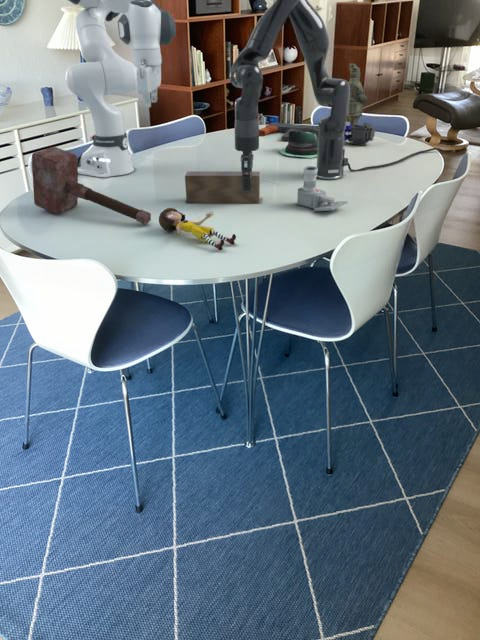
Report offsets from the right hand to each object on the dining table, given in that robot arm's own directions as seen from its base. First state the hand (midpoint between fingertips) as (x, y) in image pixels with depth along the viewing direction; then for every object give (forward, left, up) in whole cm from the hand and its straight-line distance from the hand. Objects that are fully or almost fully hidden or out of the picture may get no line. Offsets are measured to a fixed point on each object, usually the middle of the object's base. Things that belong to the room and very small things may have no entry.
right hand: (247, 187), depth 180 cm
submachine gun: (-79, -58, -4) cm, 98 cm away
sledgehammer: (+44, -22, -4) cm, 49 cm away
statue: (-107, -42, -4) cm, 115 cm away
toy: (-87, -25, -4) cm, 90 cm away
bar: (+6, -6, -4) cm, 9 cm away
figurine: (+32, +14, -4) cm, 35 cm away
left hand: (+12, -34, +23) cm, 43 cm away
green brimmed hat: (-59, -31, -4) cm, 67 cm away
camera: (-11, +21, -4) cm, 24 cm away
